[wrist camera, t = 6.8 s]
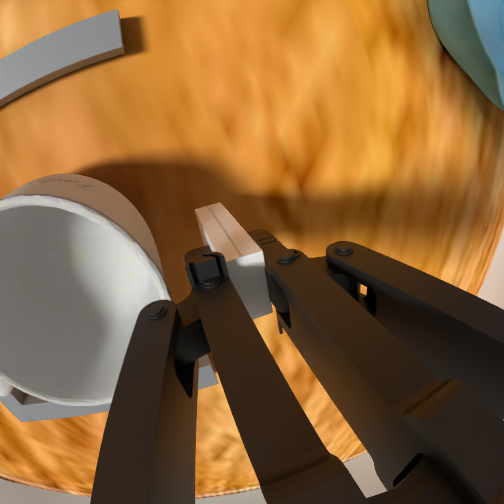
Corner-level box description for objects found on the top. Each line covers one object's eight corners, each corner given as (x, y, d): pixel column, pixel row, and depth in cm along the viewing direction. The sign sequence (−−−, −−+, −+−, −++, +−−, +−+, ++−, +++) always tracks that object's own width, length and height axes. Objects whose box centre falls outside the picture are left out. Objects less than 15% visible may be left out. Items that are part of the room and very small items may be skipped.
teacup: (109, 127, 14) (70, 127, 7) (195, 275, 19) (224, 362, 12) (-36, 250, 12) (-94, 314, 5) (51, 357, 18) (35, 440, 11)
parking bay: (120, 18, 11) (117, 9, 9) (214, 370, 23) (218, 383, 22) (-105, 159, 6) (-115, 163, 5) (23, 410, 19) (21, 421, 17)
